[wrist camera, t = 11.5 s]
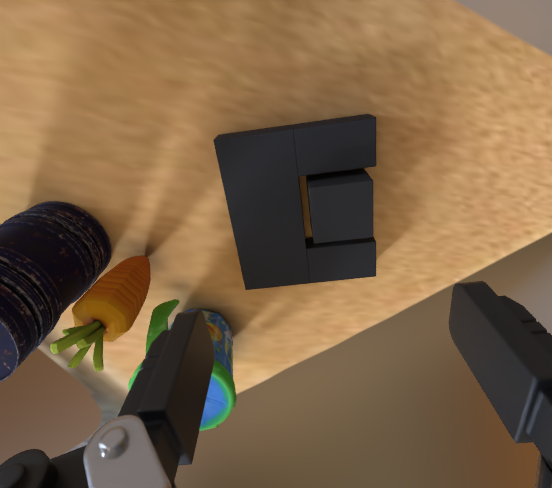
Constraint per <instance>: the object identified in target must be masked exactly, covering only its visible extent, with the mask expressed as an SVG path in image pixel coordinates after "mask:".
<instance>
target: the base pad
mask: <svg viewBox="0 0 552 488" xmlns="http://www.w3.org/2000/svg"><path fill="white" fill-rule="evenodd" d="M214 145H215V149H216V154H217V159H218V163H219V168H220V172H221V177H222V182H223V186H224V191H225V196H226V200H227V205H228V210H229V214H230V219H231V224H232V228H233V233H234V237H235V242H236V247H237V251H238V256H239V261H240V265H241V270H242V275H243V279H244V284H245V289H246V290H250V289H259V288H269V287H279V286H288V285H298V284H307V283H316V282H326V281H335V280H345V279H355V278H364V277H374V276H376V241H375V239H374V237H369V238H360V239H351V240H342V241H333V242H324V243H314V240H313V238H306V239H305V232H304V223H303V214H302V205H301V196H300V186H299V177H298V176H304V175H312V174H320V173H328V172H335V171H343V170H351V169H359V168H366V167H374V166H376V117H374V116H372V115H370V114H364V115H357V116H350V117H343V118H336V119H329V120H322V121H315V122H308V123H300V124H293V125H286V126H279V127H272V128H265V129H258V130H250V131H243V132H236V133H229V134H222V135H218V136H217V137H216V138H215V139H214Z"/></svg>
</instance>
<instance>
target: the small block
mask: <svg viewBox="0 0 552 488" xmlns="http://www.w3.org/2000/svg"><path fill="white" fill-rule="evenodd" d="M306 179H307V190H308V200H309V211H310V221H311V229H312V235H313V240H314V243H324V242H333V241H342V240H351V239H360V238H369V237H373V179H372V178H371V177H370V176H369V175H368V173H367V172H366V171H365V170H364V168H360V169H352V170H344V171H336V172H329V173H321V174H313V175H306Z"/></svg>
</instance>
